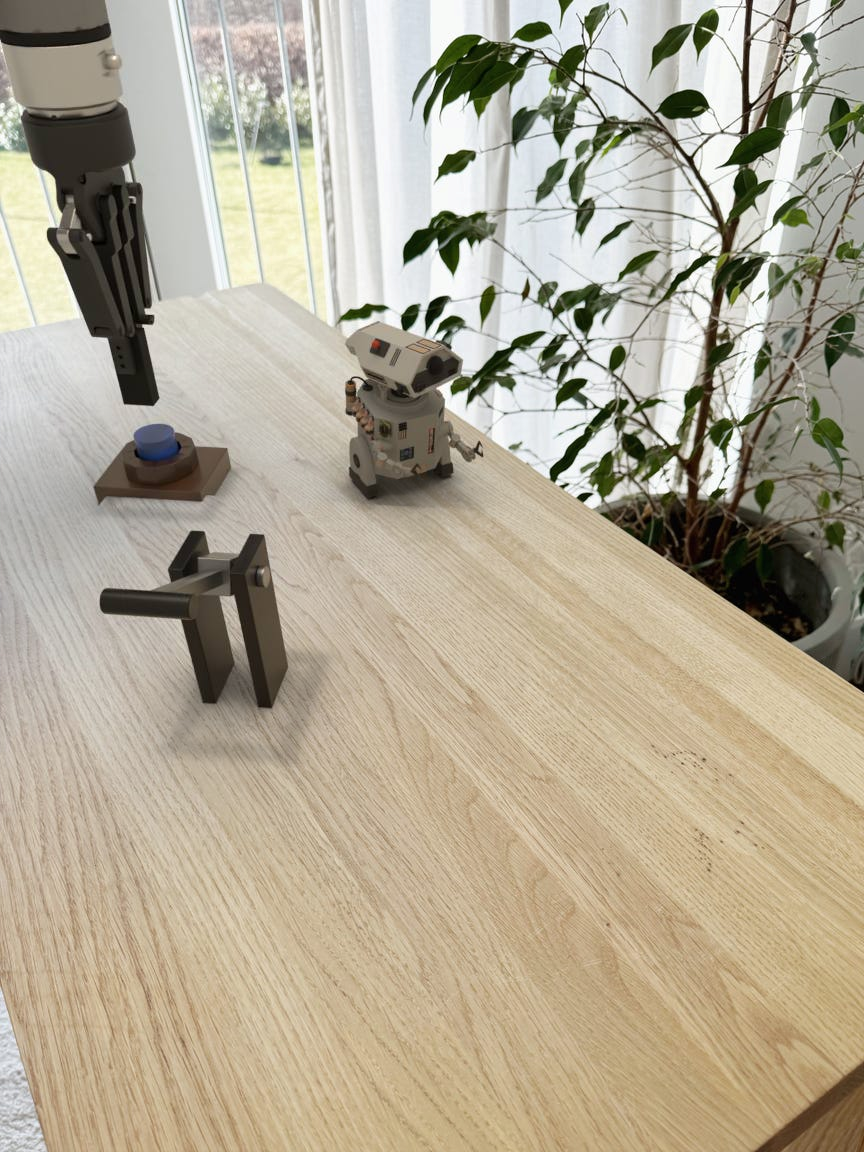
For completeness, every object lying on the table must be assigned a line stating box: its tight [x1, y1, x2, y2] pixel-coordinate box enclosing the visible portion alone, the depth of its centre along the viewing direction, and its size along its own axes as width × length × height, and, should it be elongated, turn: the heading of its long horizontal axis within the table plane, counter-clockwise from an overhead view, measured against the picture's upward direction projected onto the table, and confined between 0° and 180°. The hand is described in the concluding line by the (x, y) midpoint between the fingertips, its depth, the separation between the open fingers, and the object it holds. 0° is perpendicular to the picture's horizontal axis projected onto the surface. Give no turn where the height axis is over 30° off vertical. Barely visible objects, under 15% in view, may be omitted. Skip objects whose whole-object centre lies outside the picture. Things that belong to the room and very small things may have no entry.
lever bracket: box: [167, 529, 289, 709], centre depth 68 cm, size 10×8×13 cm
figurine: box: [344, 320, 484, 499], centre depth 89 cm, size 9×12×15 cm
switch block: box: [93, 431, 232, 506], centre depth 93 cm, size 10×8×4 cm
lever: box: [99, 551, 240, 620], centre depth 60 cm, size 13×5×2 cm, turn 173°
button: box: [133, 423, 179, 461], centre depth 91 cm, size 4×4×2 cm
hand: (141, 401), depth 88 cm, fingers closed
